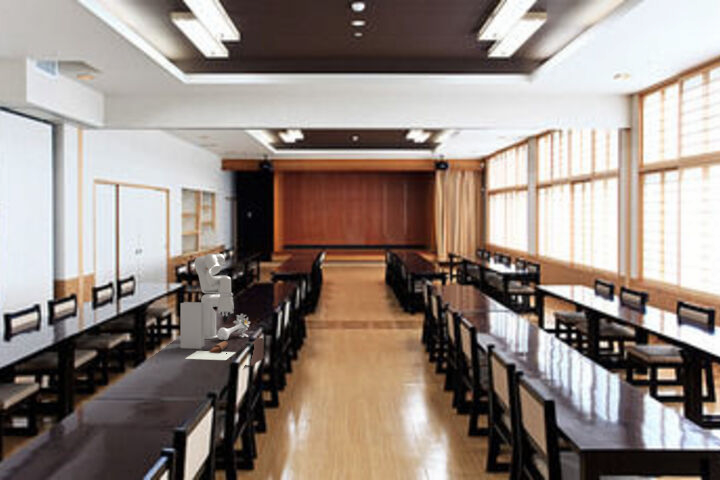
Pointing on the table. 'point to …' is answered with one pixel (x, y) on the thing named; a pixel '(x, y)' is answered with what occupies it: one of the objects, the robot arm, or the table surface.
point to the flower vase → (234, 328)
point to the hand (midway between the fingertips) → (225, 321)
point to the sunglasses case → (219, 347)
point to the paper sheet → (210, 355)
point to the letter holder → (255, 351)
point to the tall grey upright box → (192, 325)
